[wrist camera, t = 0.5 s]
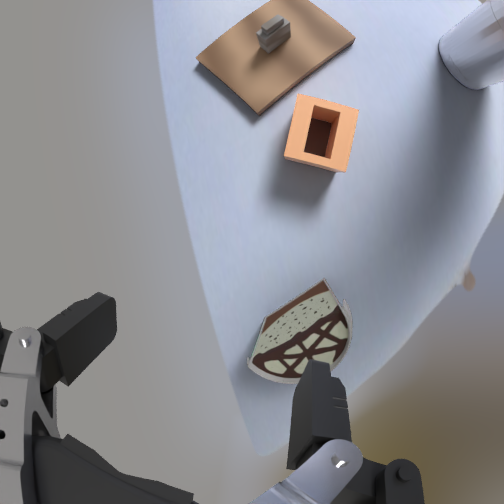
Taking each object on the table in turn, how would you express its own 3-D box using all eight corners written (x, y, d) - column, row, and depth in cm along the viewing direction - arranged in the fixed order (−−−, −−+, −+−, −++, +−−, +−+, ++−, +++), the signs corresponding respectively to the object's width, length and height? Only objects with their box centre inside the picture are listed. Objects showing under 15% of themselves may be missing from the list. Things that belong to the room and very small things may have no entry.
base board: (290, -6, 23) (288, -33, 17) (353, 42, 25) (364, 18, 18) (199, 61, 28) (180, 42, 22) (259, 115, 29) (250, 102, 23)
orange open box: (296, 107, 28) (297, 93, 23) (347, 120, 28) (358, 109, 22) (285, 159, 30) (283, 155, 25) (336, 172, 30) (345, 172, 24)
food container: (283, 352, 37) (278, 402, 28) (256, 322, 37) (244, 369, 27) (358, 306, 34) (377, 350, 24) (333, 270, 33) (348, 308, 24)
